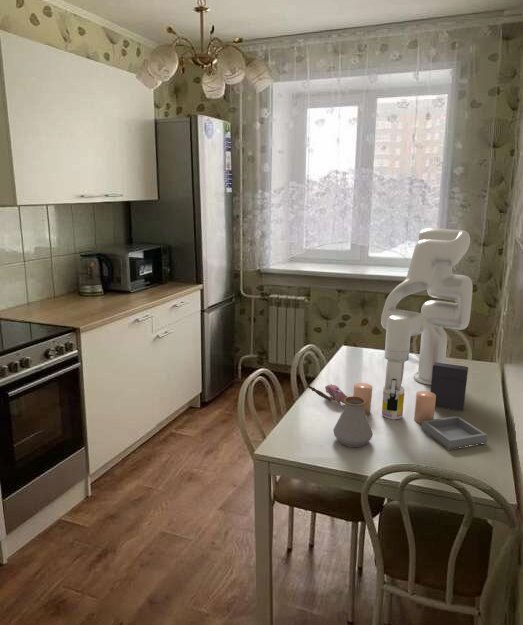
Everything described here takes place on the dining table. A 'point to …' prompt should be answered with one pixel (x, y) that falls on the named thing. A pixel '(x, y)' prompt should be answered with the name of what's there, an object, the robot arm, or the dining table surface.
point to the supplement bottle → (399, 412)
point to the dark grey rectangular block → (449, 385)
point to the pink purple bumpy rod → (335, 393)
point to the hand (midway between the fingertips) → (392, 405)
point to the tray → (454, 432)
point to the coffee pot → (350, 421)
